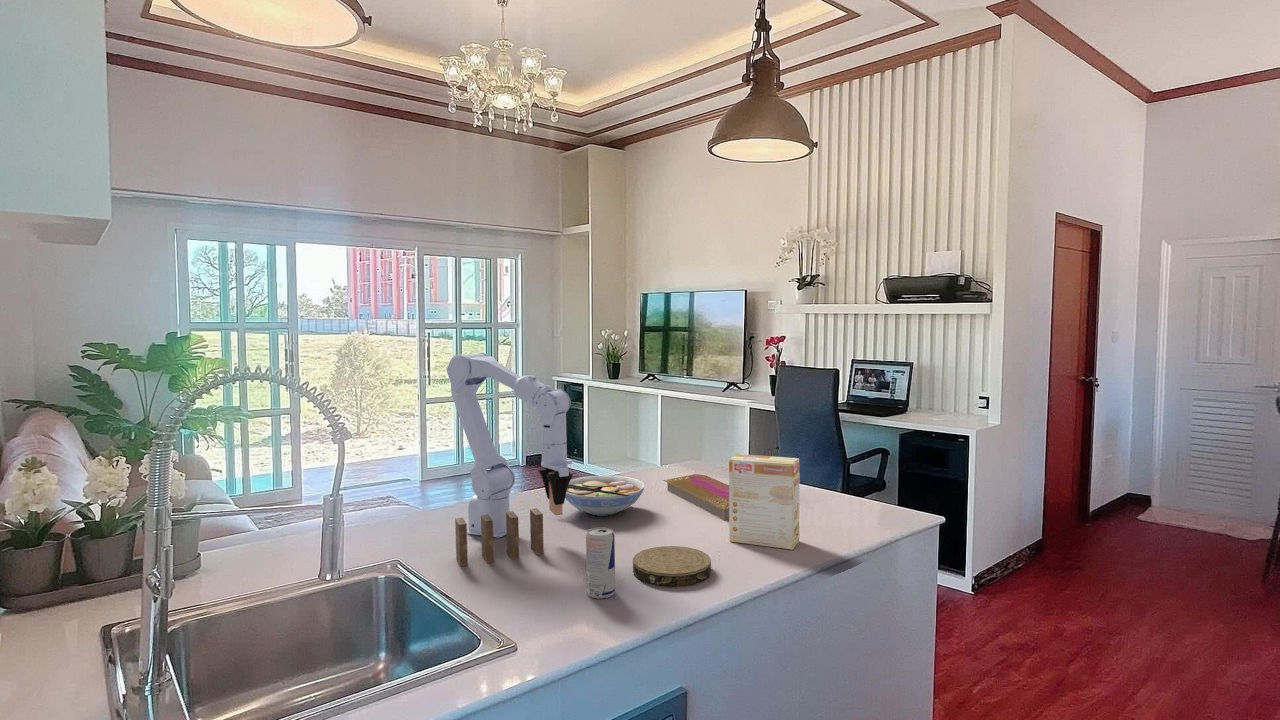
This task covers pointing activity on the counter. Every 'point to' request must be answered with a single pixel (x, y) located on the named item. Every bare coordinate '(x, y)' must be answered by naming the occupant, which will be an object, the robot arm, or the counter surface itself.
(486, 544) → the domino
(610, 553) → the energy drink
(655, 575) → the wooden tree slice
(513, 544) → the domino
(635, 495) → the ramen bowl
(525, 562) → the counter surface
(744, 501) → the coffeecake box
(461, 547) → the domino
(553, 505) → the orange tan rectangular block
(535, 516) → the domino
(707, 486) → the brown rectangular box
